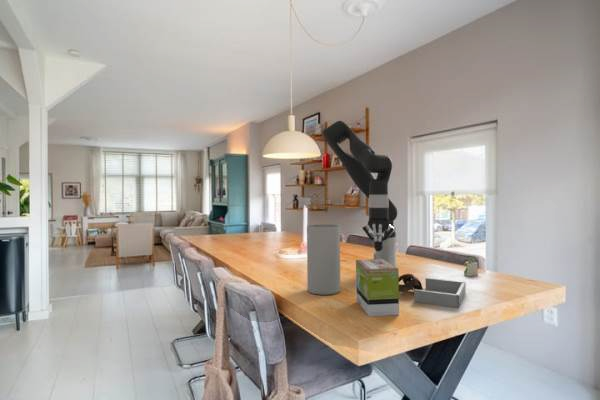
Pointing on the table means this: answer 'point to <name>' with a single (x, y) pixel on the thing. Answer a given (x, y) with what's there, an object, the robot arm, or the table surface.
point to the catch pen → (439, 297)
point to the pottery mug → (409, 283)
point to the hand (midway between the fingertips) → (378, 250)
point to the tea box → (377, 287)
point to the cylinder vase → (323, 259)
